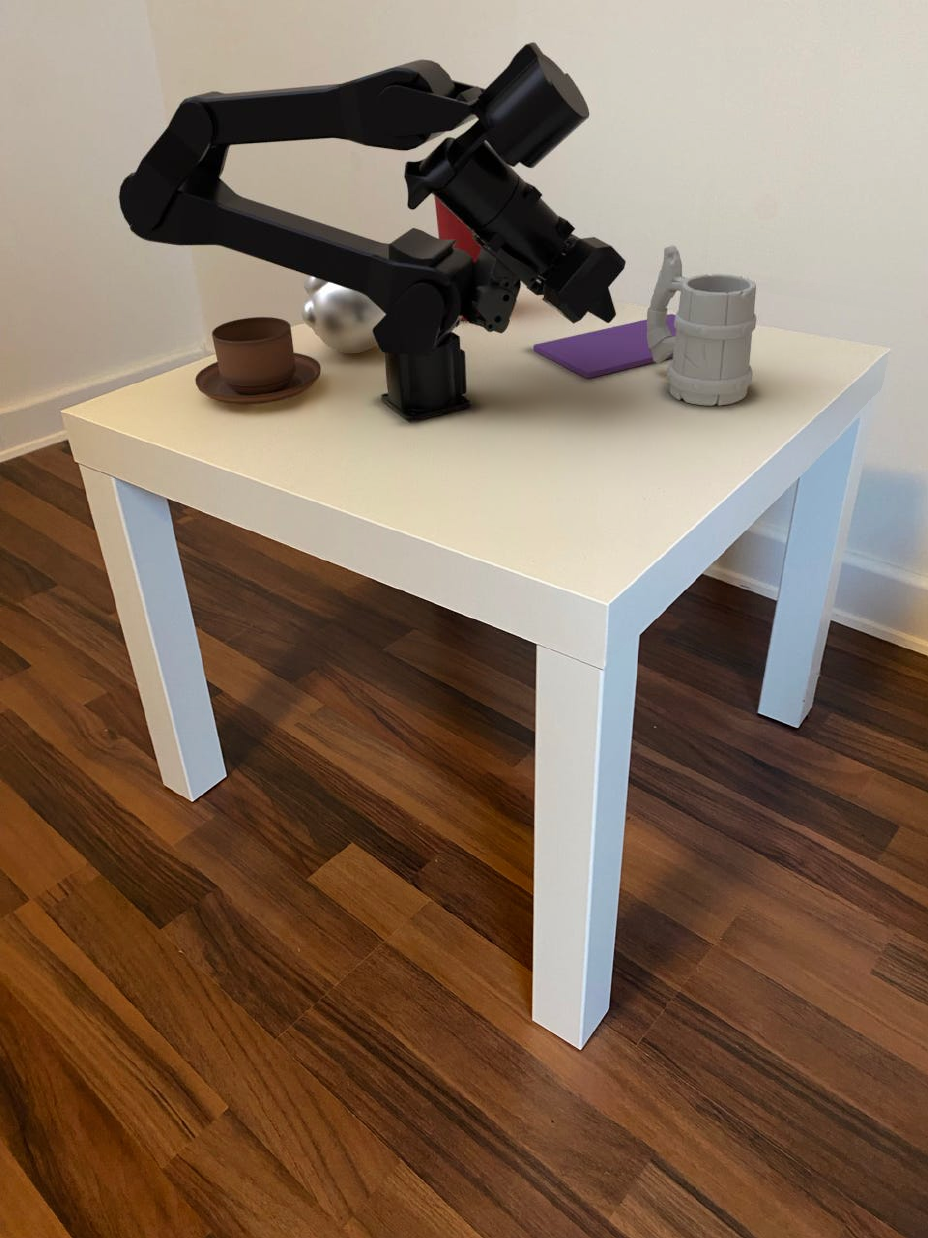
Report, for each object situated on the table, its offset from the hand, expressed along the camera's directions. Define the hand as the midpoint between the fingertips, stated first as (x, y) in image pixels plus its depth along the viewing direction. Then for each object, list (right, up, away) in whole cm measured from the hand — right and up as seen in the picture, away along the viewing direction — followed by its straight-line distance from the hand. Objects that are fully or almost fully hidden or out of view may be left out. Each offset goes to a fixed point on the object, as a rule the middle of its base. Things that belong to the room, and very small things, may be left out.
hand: (611, 318), depth 89 cm
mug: (+8, -6, +3) cm, 10 cm away
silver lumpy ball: (-25, +1, +16) cm, 30 cm away
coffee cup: (-12, +8, +25) cm, 29 cm away
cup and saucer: (-33, -5, +7) cm, 34 cm away
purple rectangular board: (+4, +1, +13) cm, 14 cm away
